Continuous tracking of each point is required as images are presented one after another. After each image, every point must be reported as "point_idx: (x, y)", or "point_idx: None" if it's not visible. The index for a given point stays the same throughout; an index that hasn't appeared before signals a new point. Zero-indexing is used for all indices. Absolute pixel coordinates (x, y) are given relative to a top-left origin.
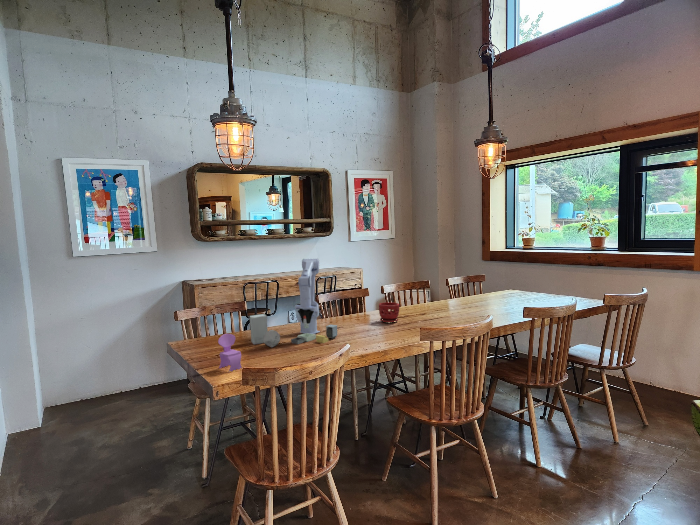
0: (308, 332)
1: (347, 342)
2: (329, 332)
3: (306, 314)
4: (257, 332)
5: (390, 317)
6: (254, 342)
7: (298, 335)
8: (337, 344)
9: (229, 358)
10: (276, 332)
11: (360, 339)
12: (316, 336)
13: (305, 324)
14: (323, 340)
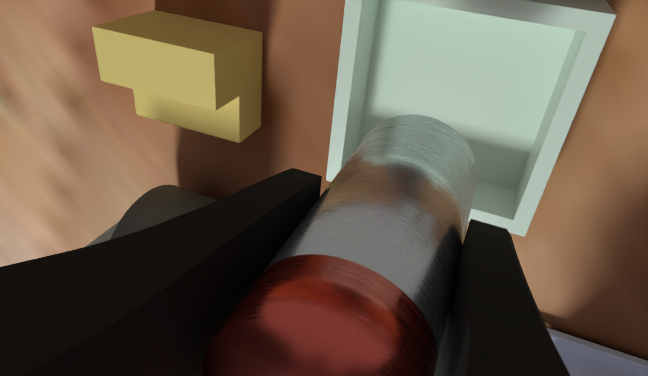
0: (586, 365)
1: (20, 124)
2: (140, 208)
3: (4, 308)
4: None
5: None
6: None
7: (600, 33)
8: (20, 23)
9: None
10: None
11: (28, 232)
12: (216, 49)
13: (369, 155)
14: (132, 19)
